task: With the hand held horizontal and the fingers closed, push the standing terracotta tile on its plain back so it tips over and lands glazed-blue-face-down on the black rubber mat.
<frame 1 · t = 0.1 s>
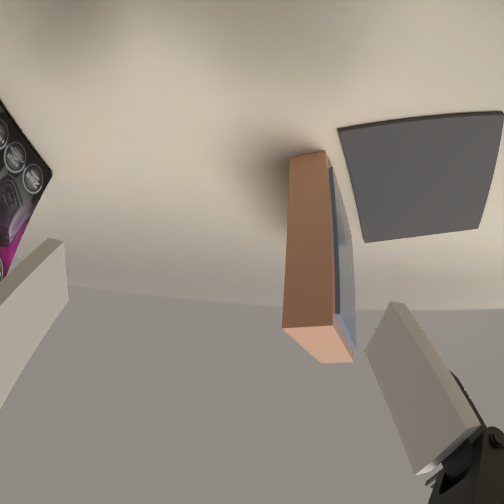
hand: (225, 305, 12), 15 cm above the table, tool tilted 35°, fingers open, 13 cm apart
graphics card box: (0, 127, 22), on the table
tile: (324, 199, 29), on the table
mat: (426, 185, 25), on the table
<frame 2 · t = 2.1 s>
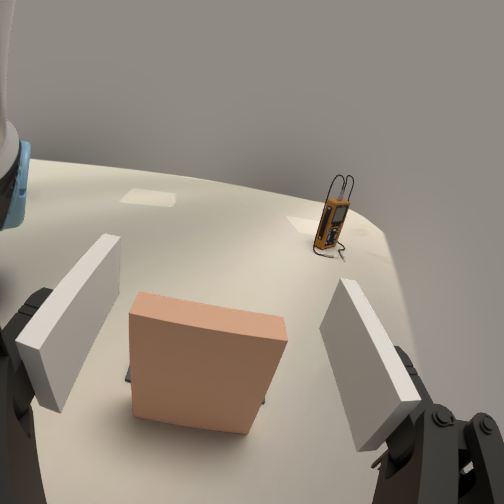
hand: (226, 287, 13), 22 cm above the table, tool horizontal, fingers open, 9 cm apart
tile: (191, 416, 29), on the table
multimeter: (334, 252, 81), on the table
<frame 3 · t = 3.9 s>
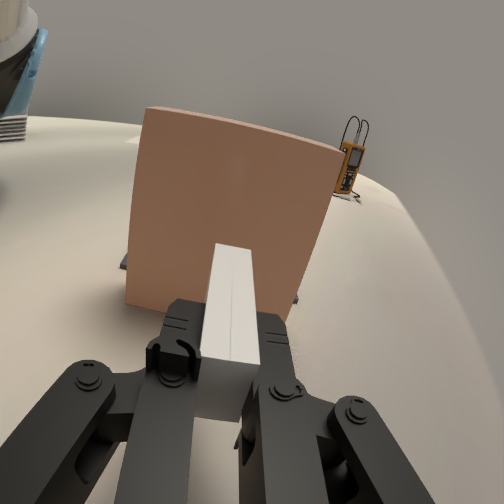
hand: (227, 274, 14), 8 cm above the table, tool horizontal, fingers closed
tile: (204, 308, 24), on the table
multimeter: (350, 198, 75), on the table
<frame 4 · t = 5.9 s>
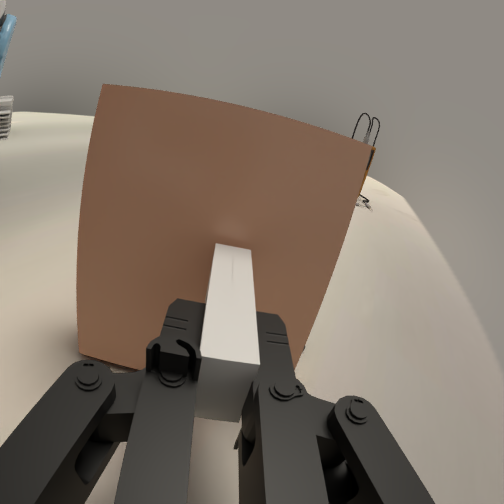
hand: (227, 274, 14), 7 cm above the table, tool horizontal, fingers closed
tile: (182, 362, 17), on the table, tilted 9°
multimeter: (359, 202, 69), on the table
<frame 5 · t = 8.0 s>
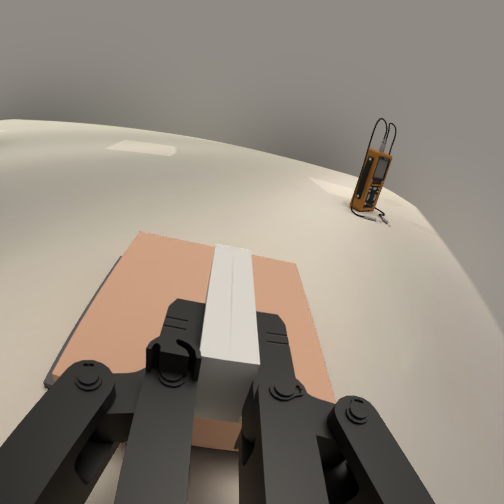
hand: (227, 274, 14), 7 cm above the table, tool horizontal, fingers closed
tile: (192, 430, 11), point 2 cm above the table, tilted 90°, touching mat
mat: (203, 336, 20), on the table
multimeter: (375, 217, 62), on the table
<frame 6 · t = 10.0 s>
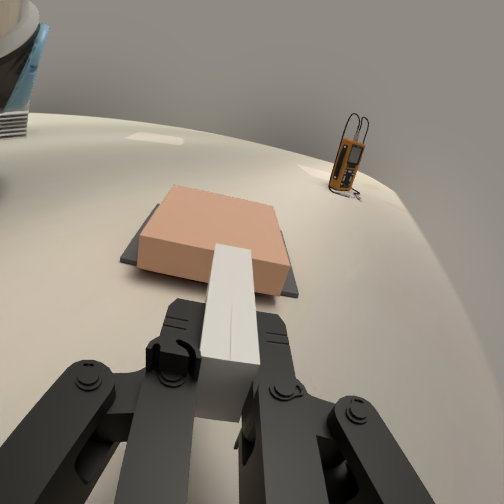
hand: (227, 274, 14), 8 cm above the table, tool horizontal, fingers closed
tile: (211, 267, 25), point 2 cm above the table, tilted 90°, touching mat
mat: (214, 244, 33), on the table
multimeter: (350, 195, 75), on the table
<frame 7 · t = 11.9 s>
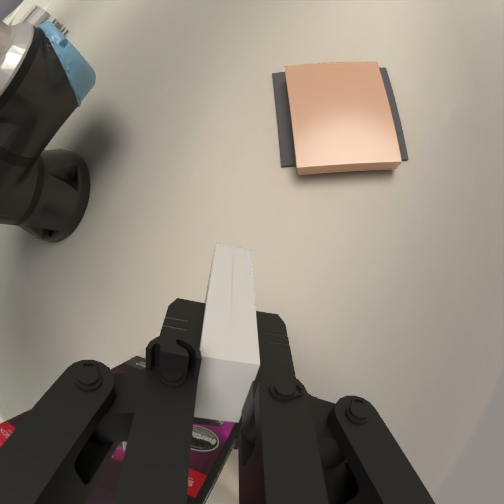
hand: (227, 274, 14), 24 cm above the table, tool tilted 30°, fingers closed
graphics card box: (189, 395, 39), on the table
aluminum extrusion profile: (23, 73, 51), on the table
tile: (349, 167, 34), point 2 cm above the table, tilted 90°, touching mat
mat: (338, 112, 36), on the table
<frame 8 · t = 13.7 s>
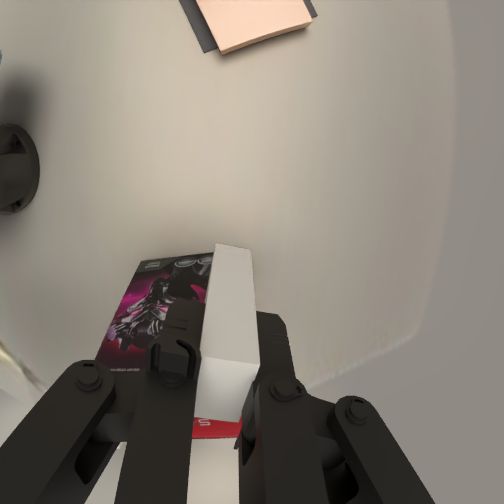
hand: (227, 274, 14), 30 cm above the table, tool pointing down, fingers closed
graphics card box: (198, 271, 48), on the table
tile: (266, 36, 32), point 2 cm above the table, tilted 90°, touching mat
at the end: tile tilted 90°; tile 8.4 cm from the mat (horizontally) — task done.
